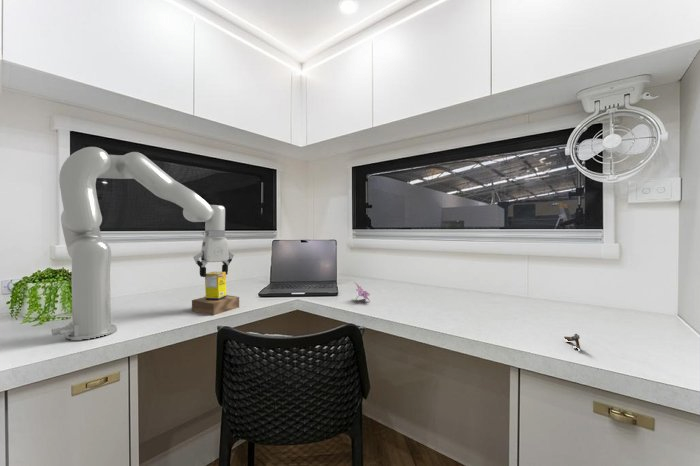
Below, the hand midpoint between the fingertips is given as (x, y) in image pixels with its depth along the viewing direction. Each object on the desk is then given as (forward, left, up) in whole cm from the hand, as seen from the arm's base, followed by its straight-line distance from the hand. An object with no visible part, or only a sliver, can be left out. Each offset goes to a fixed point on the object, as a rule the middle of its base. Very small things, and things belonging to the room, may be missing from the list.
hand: (214, 275), depth 129 cm
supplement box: (+1, 0, -10) cm, 10 cm away
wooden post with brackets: (+39, -123, -15) cm, 130 cm away
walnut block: (+1, 0, -15) cm, 15 cm away
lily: (+48, -43, -15) cm, 66 cm away
